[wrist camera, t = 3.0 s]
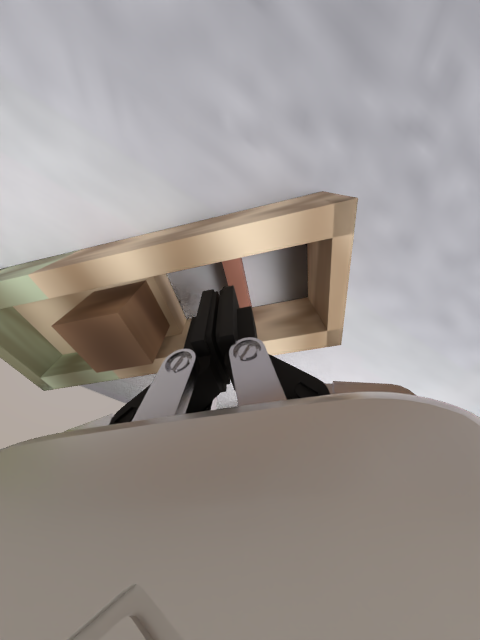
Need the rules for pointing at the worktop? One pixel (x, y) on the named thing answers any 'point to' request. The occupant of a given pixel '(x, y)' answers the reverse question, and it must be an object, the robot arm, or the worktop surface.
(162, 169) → the worktop surface
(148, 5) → the worktop surface
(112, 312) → the block
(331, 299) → the box
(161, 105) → the worktop surface
